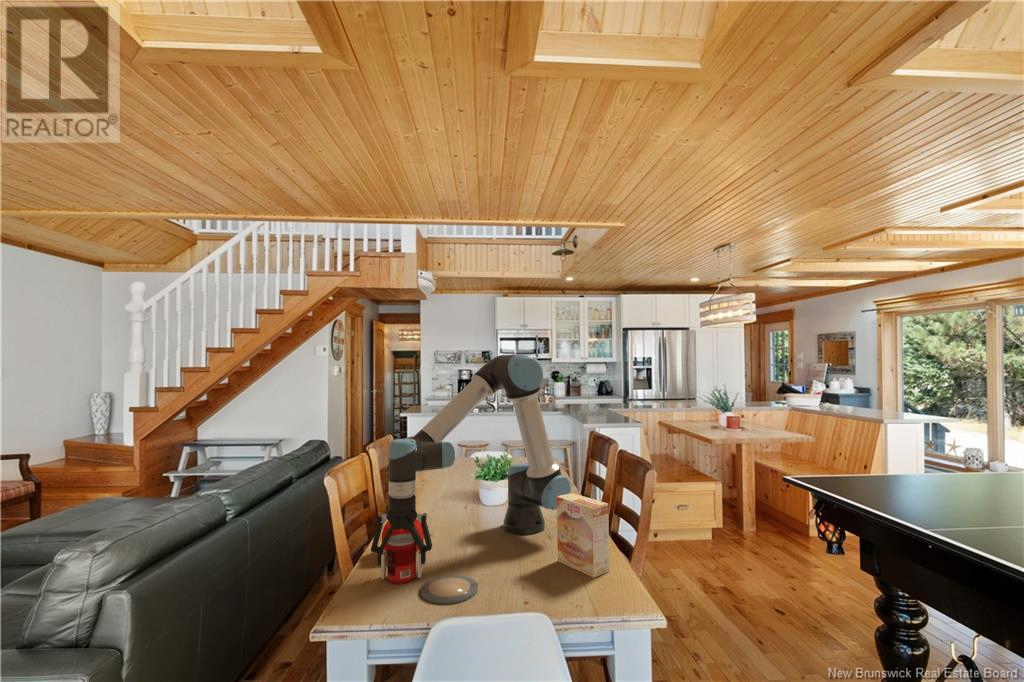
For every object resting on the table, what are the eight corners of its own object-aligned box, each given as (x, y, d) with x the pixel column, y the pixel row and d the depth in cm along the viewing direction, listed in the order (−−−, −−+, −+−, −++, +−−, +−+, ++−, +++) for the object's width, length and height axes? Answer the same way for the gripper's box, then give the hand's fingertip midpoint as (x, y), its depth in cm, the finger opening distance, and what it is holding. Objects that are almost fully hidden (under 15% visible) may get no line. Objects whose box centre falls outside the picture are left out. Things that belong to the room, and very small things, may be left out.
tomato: (424, 560, 147) (424, 525, 148) (380, 564, 145) (380, 528, 145) (423, 544, 161) (423, 512, 161) (382, 547, 158) (382, 514, 158)
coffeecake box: (556, 561, 146) (555, 496, 147) (573, 555, 150) (572, 492, 151) (593, 578, 134) (592, 507, 135) (610, 571, 138) (609, 502, 139)
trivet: (478, 577, 135) (478, 573, 135) (476, 603, 120) (476, 599, 120) (424, 578, 135) (424, 575, 135) (416, 605, 120) (416, 601, 120)
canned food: (421, 574, 137) (421, 535, 138) (406, 586, 130) (406, 544, 130) (397, 570, 140) (397, 532, 140) (381, 582, 132) (382, 541, 133)
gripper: (358, 499, 132) (358, 583, 131) (439, 497, 133) (439, 581, 132) (366, 492, 139) (365, 571, 138) (442, 490, 140) (442, 569, 139)
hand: (401, 576), depth 135 cm, fingers open, 9 cm apart
